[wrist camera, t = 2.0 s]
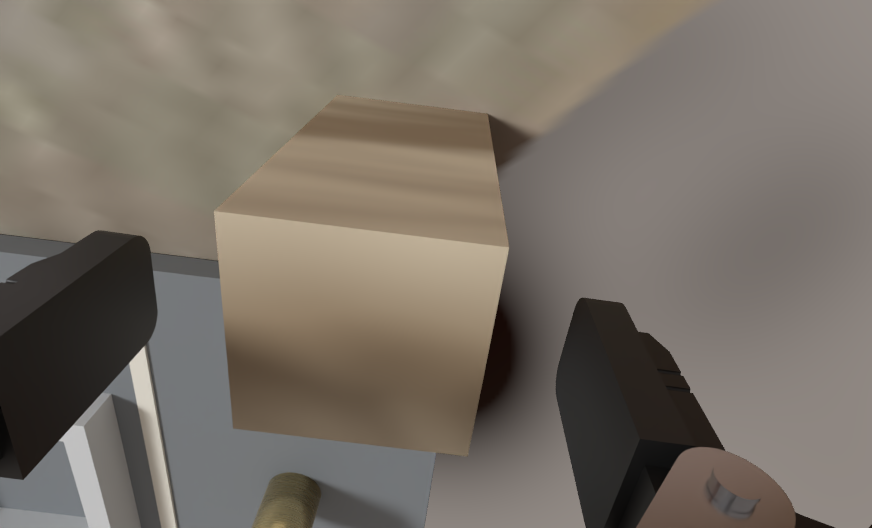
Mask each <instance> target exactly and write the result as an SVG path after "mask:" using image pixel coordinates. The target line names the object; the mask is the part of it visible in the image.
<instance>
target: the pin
mask: <svg viewBox="0 0 872 528" xmlns="http://www.w3.org/2000/svg"><path fill="white" fill-rule="evenodd" d="M320 498H321V490H320V488H319V486H318V484H317V483H316V482H315V481H314V480H312V479H311V478H309V477H307V476H305V475H302V474H299V473H292V472H287V473H281V474H278V475H276V476H274V477H273V478H272V479H271V480H270V481H269V484H268V486H267V489H266V491H265V494H264V496H263V499H262V502H261V504H260V507H259V509H258V512H257V515H256V517H255V520H254V522H253V525H252V527H251V528H312V527H313V524H314V520H315V516H316V513H317V509H318V506H319V502H320Z"/></svg>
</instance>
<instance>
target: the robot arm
mask: <svg viewBox="0 0 872 528" xmlns="http://www.w3.org/2000/svg"><path fill="white" fill-rule="evenodd" d="M157 316H158V309H157V300H156V292H155V284H154V276H153V268H152V259H151V251H150V247H149V244H148V242H147V240H146V239H145V238H144V237H142V236H137V235H130V234H123V233H115V232H108V231H99V230H98V231H95V232H93V233H91V234H90V235H88V236H87V237H85V238H84V239H82V240H80V241H79V242H77V243H76V244H74V245H73V246H71V247H70V248H68V249H67V250H65V251H63V252H62V253H60V254H57V255H54V256H51V257H49V258H46V259H43V260H40V261H37V262H34V263H32V264H30V265H28V266H26V267H25V268H23V269H22V270H20V271H18V272H17V273H15V274H14V275H12V276H11V277H9V278H7V279H6V283H3V282H1V283H0V477H3V478H11V479H19V480H24V479H25V478H26V477H27V476H28V474H29V473H30V472H31V471H32V470H33V469H34V468H35V467H36V466H37V464H38V463H39V462H40V461H41V460H42V459H43V458H44V457H45V456H46V455H47V453H48V452H49V451H50V450H51V449H52V448H53V447H54V446H55V445H56V443H57V442H58V441H59V440H60V439H61V438H62V437H63V436H64V435H65V433H66V432H67V431H68V430H69V429H70V428H71V427H72V426H73V425H74V424H75V422H76V421H77V420H78V419H79V418H80V417H81V416H82V415H83V414H84V412H85V411H86V410H87V409H88V408H89V407H90V406H91V405H92V404H93V402H94V401H95V400H96V399H97V398H98V397H99V396H100V395H101V394H102V393H103V391H104V390H105V389H106V388H107V387H108V386H109V385H110V384H111V383H112V381H113V380H114V379H115V378H116V377H117V376H118V375H119V374H120V373H121V372H122V370H123V369H124V368H125V367H126V366H127V365H128V364H129V363H130V362H131V360H132V359H133V358H134V357H135V356H136V355H137V354H138V353H139V352H140V350H141V349H142V348H143V347H144V346H145V345H146V344H147V343H148V341H149V340H150V338H151V337H152V335H153V332H154V330H155V327H156V322H157ZM680 373H681V371H680V370H679V368H678V366H677V364H676V363H675V361H674V359H673V357H672V355H671V354H670V352H669V351H668V350H667V349H666V348H665V347H663V346H662V345H661V344H660V343H659V342H658V341H657V340H655V339H654V338H653V337H652V336H651V335H650V334H648V333H642V332H638V331H637V329H636V327H635V325H634V323H633V321H632V319H631V317H630V315H629V313H628V312H627V309H626V307H625V306H624V305H623V304H622V303H618V302H611V301H603V300H596V299H589V298H581V299H579V301H578V302H577V304H576V307H575V310H574V313H573V317H572V320H571V323H570V327H569V330H568V334H567V337H566V341H565V344H564V348H563V351H562V355H561V358H560V361H559V365H558V370H557V377H556V396H557V402H558V406H559V411H560V415H561V420H562V424H563V428H564V433H565V437H566V442H567V446H568V451H569V455H570V459H571V464H572V468H573V473H574V477H575V482H576V486H577V491H578V495H579V499H580V504H581V509H582V513H583V517H584V522H585V526H586V528H834V527H832V526H829V525H826V524H824V523H821V522H818V521H816V520H813V519H810V518H808V517H805V516H802V515H800V514H798V513H795V511H794V508H793V506H792V503H791V501H790V500H789V498H788V496H787V495H786V493H785V492H784V491H783V490H782V488H781V487H780V486H779V485H778V484H777V483H776V482H775V481H774V480H773V479H772V478H771V477H770V476H769V475H768V474H766V473H765V472H764V471H763V470H761V469H760V468H758V467H757V466H756V465H754V464H752V463H750V462H749V461H747V460H745V459H743V458H741V457H739V456H737V455H735V454H732V453H730V452H727V451H725V449H724V447H723V445H722V444H721V442H720V440H719V438H718V437H717V435H716V433H715V431H714V430H713V428H712V426H711V424H710V423H709V421H708V419H707V417H706V415H705V414H704V412H703V410H702V409H701V407H700V405H699V403H698V401H697V400H696V398H695V396H694V395H693V393H690V387H689V385H688V384H687V382H686V380H685V378H684V377H683V376H681V375H680ZM869 528H872V525H871V526H870V527H869Z"/></svg>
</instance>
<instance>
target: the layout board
mask: <svg viewBox="0 0 872 528" xmlns="http://www.w3.org/2000/svg"><path fill="white" fill-rule="evenodd" d="M74 244H75V243H67V242H58V241H50V240H42V239H34V238H26V237H18V236H10V235H2V234H0V283H1V282H3V283H6V279H7V278H9V277H11V276H12V275H14V274H15V273H17V272H18V271H20V270H22V269H23V268H25V267H26V266H28V265H30V264H32V263H34V262H37V261H40V260H43V259H46V258H49V257H51V256H54V255H57V254H60V253H62V252H63V251H65V250H67V249H68V248H70V247H71V246H73V245H74ZM151 259H152V268H153V276H154V284H155V292H156V300H157V309H158V316H157V322H156V327H155V330H154V332H153V335H152V337H151V338H150V340H149V341H148V343H147V344H146V345H145V346H144V347H143V348H142V349H141V350H140V352H139V353H138V354H137V355H136V356H135V357H134V358H133V359H132V360H131V362H130V363H129V364H128V365H127V366H126V367H125V368H124V369H123V370H122V372H121V373H120V374H119V375H118V376H117V377H116V378H115V379H114V380H113V381H112V383H111V384H110V385H109V386H108V387H107V388H106V389H105V390H104V391H103V393H102V394H101V395H100V396H99V397H98V398H97V399H96V400H95V401H94V402H93V404H92V405H91V406H90V407H89V408H88V409H87V410H86V411H85V412H84V414H83V415H82V416H81V417H80V418H79V419H78V420H77V421H76V422H75V424H74V425H73V426H72V427H71V428H70V429H69V430H68V431H67V432H66V433H65V435H64V436H63V437H62V438H61V439H60V440H59V441H58V442H57V443H56V445H55V446H54V447H53V448H52V449H51V450H50V451H49V452H48V453H47V455H46V456H45V457H44V458H43V459H42V460H41V461H40V462H39V463H38V464H37V466H36V467H35V468H34V469H33V470H32V471H31V472H30V473H29V474H28V476H27V477H26V478H25V479H24V480H19V479H11V478H3V477H0V528H251V527H252V525H253V522H254V520H255V517H256V515H257V512H258V509H259V507H260V504H261V502H262V499H263V496H264V494H265V491H266V489H267V486H268V484H269V481H270V480H271V479H272V478H273V477H274V476H276V475H278V474H281V473H287V472H292V473H299V474H302V475H305V476H307V477H309V478H311V479H312V480H314V481H315V482H316V483H317V484H318V486H319V488H320V490H321V498H320V502H319V506H318V509H317V513H316V516H315V520H314V524H313V527H312V528H424V526H425V520H426V514H427V507H428V500H429V495H430V489H431V482H432V476H433V470H434V464H435V457H436V453H434V452H426V451H417V450H409V449H400V448H392V447H384V446H375V445H367V444H359V443H350V442H342V441H333V440H325V439H317V438H308V437H300V436H291V435H283V434H275V433H266V432H258V431H249V430H241V429H233V422H232V410H231V399H230V387H229V376H228V365H227V353H226V342H225V330H224V319H223V308H222V296H221V285H220V273H219V262H218V261H213V260H205V259H196V258H188V257H180V256H172V255H164V254H156V253H151Z"/></svg>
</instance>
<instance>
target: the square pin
mask: <svg viewBox="0 0 872 528" xmlns="http://www.w3.org/2000/svg"><path fill="white" fill-rule="evenodd" d="M214 216H215V228H216V239H217V250H218V262H219V273H220V285H221V296H222V308H223V319H224V330H225V342H226V353H227V365H228V376H229V387H230V399H231V410H232V422H233V429H241V430H249V431H258V432H266V433H275V434H283V435H291V436H300V437H308V438H317V439H325V440H333V441H342V442H350V443H359V444H367V445H375V446H384V447H392V448H400V449H409V450H417V451H426V452H434V453H443V454H451V455H460V456H468V452H469V446H470V442H471V437H472V432H473V427H474V422H475V417H476V411H477V406H478V401H479V396H480V392H481V386H482V382H483V376H484V371H485V366H486V361H487V356H488V351H489V346H490V341H491V336H492V331H493V326H494V321H495V316H496V311H497V306H498V301H499V296H500V291H501V286H502V281H503V276H504V271H505V266H506V261H507V256H508V251H509V243H508V237H507V231H506V224H505V218H504V212H503V206H502V200H501V194H500V187H499V181H498V175H497V169H496V163H495V156H494V150H493V144H492V138H491V132H490V125H489V119H488V114H485V113H477V112H469V111H461V110H453V109H445V108H438V107H430V106H422V105H414V104H406V103H398V102H390V101H382V100H374V99H367V98H359V97H351V96H343V95H337V96H336V97H335V98H334V99H333V100H332V101H331V102H330V103H329V104H327V105H326V106H325V107H324V108H323V109H322V110H321V111H320V112H319V113H318V114H317V115H316V116H315V117H314V118H313V119H312V120H310V121H309V122H308V123H307V124H306V125H305V126H304V127H303V128H302V129H301V130H300V131H299V132H298V133H297V134H296V135H294V136H293V137H292V138H291V139H290V140H289V141H288V142H287V143H286V144H285V145H284V146H283V147H282V148H281V149H280V150H279V151H277V152H276V153H275V154H274V155H273V156H272V157H271V158H270V159H269V160H268V161H267V162H266V163H265V164H264V165H263V166H261V167H260V168H259V169H258V170H257V171H256V172H255V173H254V174H253V175H252V176H251V177H250V178H249V179H248V180H247V181H246V182H244V183H243V184H242V185H241V186H240V187H239V188H238V189H237V190H236V191H235V192H234V193H233V194H232V195H231V196H230V197H228V198H227V199H226V200H225V201H224V202H223V203H222V204H221V205H220V206H219V207H218V208H217V209H216V210H215V211H214Z"/></svg>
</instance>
